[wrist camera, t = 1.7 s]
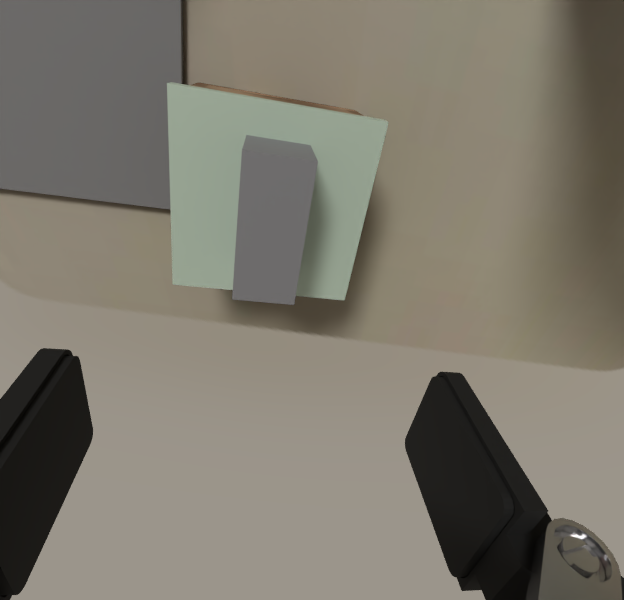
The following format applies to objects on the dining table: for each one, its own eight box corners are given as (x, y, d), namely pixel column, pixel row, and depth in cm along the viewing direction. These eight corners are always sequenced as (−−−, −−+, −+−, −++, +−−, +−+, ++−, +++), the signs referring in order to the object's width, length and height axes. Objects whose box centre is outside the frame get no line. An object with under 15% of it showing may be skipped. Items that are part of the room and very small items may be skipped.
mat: (182, -36, 23) (180, -38, 22) (184, 208, 30) (183, 211, 30) (-113, -103, 20) (-123, -107, 20) (-29, 181, 28) (-34, 184, 27)
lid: (378, 117, 23) (411, 134, 18) (339, 284, 29) (355, 335, 23) (176, 80, 21) (144, 88, 16) (179, 268, 27) (157, 319, 22)
